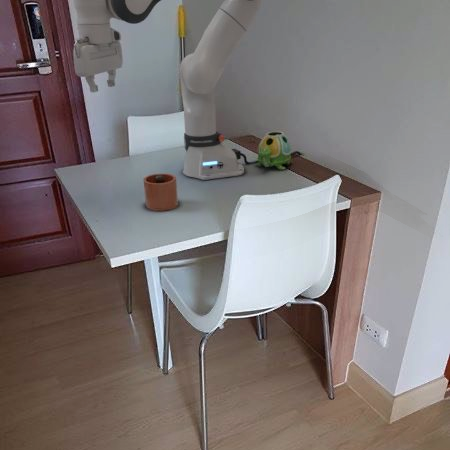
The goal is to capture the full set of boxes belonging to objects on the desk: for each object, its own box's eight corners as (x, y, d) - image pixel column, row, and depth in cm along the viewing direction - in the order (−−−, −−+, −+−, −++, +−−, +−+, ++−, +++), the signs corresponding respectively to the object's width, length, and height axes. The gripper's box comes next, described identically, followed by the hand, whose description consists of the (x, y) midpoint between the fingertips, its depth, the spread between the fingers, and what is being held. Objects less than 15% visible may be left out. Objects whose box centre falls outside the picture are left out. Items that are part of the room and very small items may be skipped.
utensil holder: (177, 198, 159) (175, 172, 154) (179, 209, 151) (177, 182, 146) (146, 200, 158) (143, 174, 153) (146, 212, 150) (143, 185, 145)
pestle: (168, 199, 156) (165, 172, 151) (168, 204, 152) (166, 176, 148) (155, 200, 155) (152, 172, 151) (155, 205, 152) (153, 176, 147)
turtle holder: (246, 172, 180) (247, 139, 174) (265, 158, 194) (266, 127, 187) (278, 176, 175) (279, 142, 169) (295, 162, 189) (297, 130, 182)
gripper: (84, 39, 127) (93, 96, 134) (123, 32, 143) (129, 83, 150) (63, 39, 129) (73, 95, 136) (104, 32, 145) (111, 83, 152)
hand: (103, 89), depth 143 cm, fingers open, 8 cm apart
